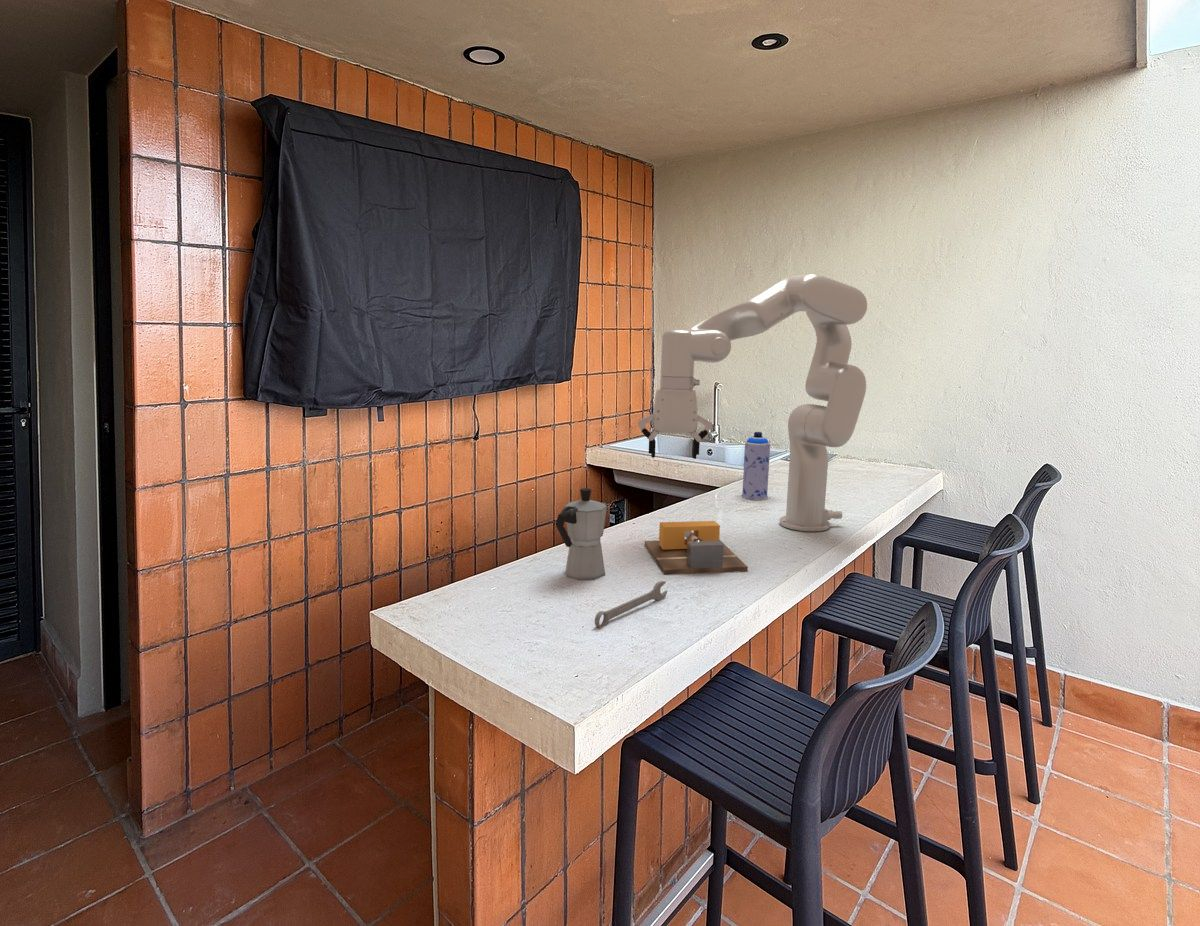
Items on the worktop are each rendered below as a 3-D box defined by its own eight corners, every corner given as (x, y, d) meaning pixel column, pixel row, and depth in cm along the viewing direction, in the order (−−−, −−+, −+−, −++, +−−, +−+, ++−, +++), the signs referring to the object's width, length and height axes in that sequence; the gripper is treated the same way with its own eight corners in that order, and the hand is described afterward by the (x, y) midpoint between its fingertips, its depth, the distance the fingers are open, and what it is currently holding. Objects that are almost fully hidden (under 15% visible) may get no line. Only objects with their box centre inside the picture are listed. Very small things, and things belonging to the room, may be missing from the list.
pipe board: (718, 542, 167) (718, 538, 166) (747, 571, 147) (747, 566, 147) (644, 545, 164) (644, 540, 164) (664, 574, 145) (664, 569, 144)
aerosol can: (754, 493, 217) (758, 429, 213) (773, 498, 211) (777, 433, 207) (736, 496, 213) (739, 431, 209) (754, 501, 207) (758, 434, 203)
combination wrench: (598, 613, 117) (670, 580, 132) (592, 610, 118) (665, 578, 133) (598, 633, 118) (670, 598, 132) (593, 631, 119) (665, 596, 133)
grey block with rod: (697, 540, 165) (698, 520, 164) (722, 567, 146) (723, 544, 145) (668, 541, 164) (669, 520, 163) (690, 568, 145) (690, 545, 144)
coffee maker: (588, 560, 153) (589, 480, 149) (620, 569, 147) (622, 486, 144) (541, 579, 141) (540, 492, 138) (573, 589, 136) (574, 500, 132)
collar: (713, 542, 162) (714, 520, 161) (718, 547, 158) (719, 525, 157) (658, 544, 160) (659, 522, 159) (662, 549, 156) (663, 527, 155)
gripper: (711, 383, 164) (708, 455, 167) (638, 382, 164) (636, 453, 167) (716, 386, 157) (712, 461, 160) (639, 384, 157) (637, 459, 160)
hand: (673, 457), depth 164 cm, fingers open, 9 cm apart
